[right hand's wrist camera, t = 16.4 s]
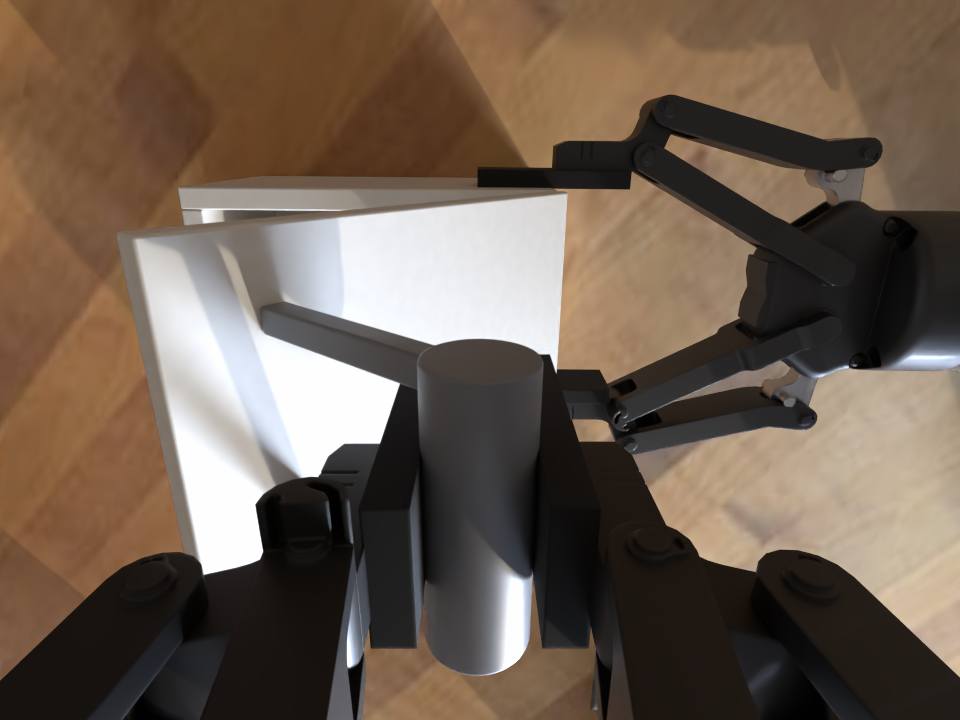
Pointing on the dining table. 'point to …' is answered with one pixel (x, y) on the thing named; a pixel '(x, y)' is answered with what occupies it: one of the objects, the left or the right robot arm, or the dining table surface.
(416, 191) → the chest
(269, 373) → the lid
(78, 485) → the dining table surface
